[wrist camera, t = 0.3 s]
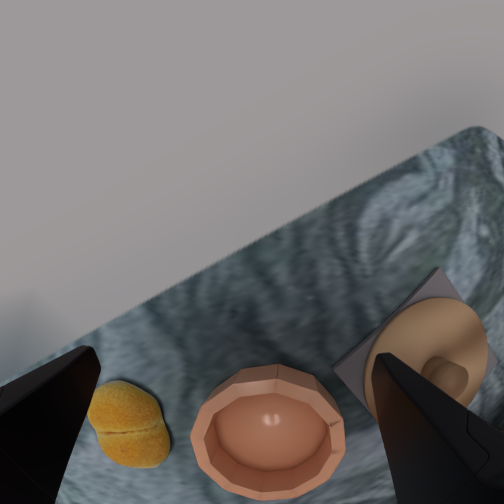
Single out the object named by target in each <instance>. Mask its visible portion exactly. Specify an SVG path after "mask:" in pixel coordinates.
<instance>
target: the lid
mask: <svg viewBox="0 0 504 504" xmlns="http://www.w3.org/2000/svg"><path fill="white" fill-rule="evenodd" d="M385 352H390V353H392V354H393V355H395V356H396V357H397V358H399V359H400V360H401V361H403V362H404V363H406V364H407V365H408V366H410V367H411V368H412V369H414V370H415V371H416V372H418V373H419V374H421V375H422V376H423V377H425V378H426V379H427V380H429V381H430V382H432V383H433V384H434V385H436V386H437V387H438V388H440V389H441V390H442V391H444V392H445V393H447V394H448V395H449V396H451V397H452V398H453V399H455V400H456V401H457V402H459V403H460V404H462V405H463V406H464V407H466V408H467V407H468V405H469V404H470V403H471V401H472V400H473V398H474V396H475V395H476V393H477V391H478V389H479V387H480V385H481V383H482V380H483V377H484V374H485V370H486V365H487V359H488V344H487V337H486V333H485V330H484V327H483V325H482V322H481V320H480V319H479V317H478V316H477V314H476V313H475V312H474V311H473V310H472V309H471V308H470V307H469V306H467V305H466V304H464V303H462V302H460V301H458V300H455V299H450V298H428V299H423V300H420V301H417V302H415V303H413V304H411V305H409V306H407V307H406V308H404V309H403V310H401V311H400V312H398V313H397V314H396V315H395V316H394V317H393V318H392V319H391V320H390V321H389V322H388V323H387V324H386V325H385V326H384V328H383V329H382V330H381V332H380V333H379V334H378V336H377V338H376V339H375V341H374V343H373V345H372V347H371V349H370V351H369V354H368V357H367V360H366V364H365V368H364V375H363V391H364V397H365V400H366V404H367V406H368V408H369V410H370V412H371V414H372V415H373V417H374V418H375V419H376V421H377V422H378V419H377V413H376V407H375V400H374V394H373V388H372V382H371V373H372V369H373V365H374V361H375V357H376V355H377V354H378V353H385Z"/></svg>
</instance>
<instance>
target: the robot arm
mask: <svg viewBox="0 0 504 504" xmlns="http://www.w3.org/2000/svg"><path fill="white" fill-rule="evenodd" d="M100 372H101V365H100V362H99V360H98V358H97V355H96V353H95V350H94V348H93V347H91V346H86V345H81V346H79V347H77V348H75V349H73V350H71V351H69V352H68V353H66V354H64V355H62V356H60V357H58V358H56V359H54V360H52V361H50V362H48V363H46V364H44V365H42V366H41V367H39V368H37V369H35V370H33V371H31V372H29V373H27V374H25V375H23V376H21V377H19V378H17V379H15V380H13V381H11V382H10V383H8V384H6V385H4V386H2V387H0V504H55V501H56V498H57V494H58V491H59V488H60V485H61V482H62V479H63V476H64V473H65V470H66V467H67V464H68V461H69V459H70V456H71V453H72V450H73V448H74V445H75V442H76V440H77V437H78V435H79V432H80V429H81V427H82V424H83V422H84V419H85V417H86V415H87V412H88V409H89V407H90V404H91V401H92V397H93V394H94V391H95V388H96V384H97V381H98V378H99V375H100ZM371 382H372V388H373V394H374V400H375V407H376V413H377V419H378V424H379V428H380V432H381V436H382V439H383V443H384V447H385V451H386V455H387V459H388V463H389V467H390V471H391V476H392V480H393V484H394V489H395V493H396V498H397V503H398V504H504V433H503V432H501V431H500V430H498V429H496V428H495V427H493V426H492V425H490V424H488V423H487V422H485V421H484V420H483V419H481V418H480V417H478V416H477V415H475V414H474V413H473V412H471V411H470V410H467V408H466V407H464V406H463V405H462V404H460V403H459V402H457V401H456V400H455V399H453V398H452V397H451V396H449V395H448V394H447V393H445V392H444V391H442V390H441V389H440V388H438V387H437V386H436V385H434V384H433V383H432V382H430V381H429V380H427V379H426V378H425V377H423V376H422V375H421V374H419V373H418V372H416V371H415V370H414V369H412V368H411V367H410V366H408V365H407V364H406V363H404V362H403V361H401V360H400V359H399V358H397V357H396V356H395V355H393V354H392V353H390V352H385V353H378V354H377V355H376V357H375V361H374V365H373V369H372V373H371Z"/></svg>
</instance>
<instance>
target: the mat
mask: <svg viewBox="0 0 504 504" xmlns="http://www.w3.org/2000/svg"><path fill="white" fill-rule="evenodd" d="M428 298H450V299H455V300H458V301H460V302H462V303H464V302H463V300H462V299H461V297H460V295H459V294H458V292H457V291H456V289H455V288H454V286H453V285H452V283H451V282H450V280H449V279H448V278H447V276H446V275H445V273H444V272H443V270H442V269H441V268H440V267H437V268H435V269H434V270H433V272H432V273H431V274H430V275H429V276H428V277H427V278H426V279H425V280H424V281H423V283H422V284H421V285H420V286H419V287H418V288H417V289H416V290H415V291H414V292H413V293H412V294H411V295H410V296H409V297H408V298H407V299H406V300H405V301H404V302H403V303H402V305H401V306H400V307H399V308H398V309H396V310H395V311H394V312H393V313H392V314H391V315H390V316H389V317H388V318H387V319H386V320H385V321H384V322H383V323H382V324H381V325H380V326H379V327H378V328H377V329H376V330H375V331H373V332H372V333H371V334H370V335H369V336H368V337H367V338H366V339H365V340H364V341H362V342H361V343H360V344H359V345H358V346H357V347H356V348H354V349H353V350H352V351H351V352H350V353H349V354H347V355H346V356H345V357H344V358H343V359H342V360H340V361H339V362H338V363H337V364H335V365H334V366H333V367H332V369H333V370H334V372H335V373H336V374H337V375H338V376H339V377H340V379H341V380H342V381H343V382H344V383H345V384H346V386H347V387H348V388H349V389H350V390H351V391H352V392H353V394H354V395H355V396H356V397H357V398H358V399H359V401H360V402H361V403H362V404H363V405H364V406H365V407H366V409H367V410H368V411H369V412H370V410H369V408H368V406H367V404H366V400H365V397H364V391H363V375H364V368H365V364H366V360H367V357H368V354H369V351H370V349H371V347H372V345H373V343H374V341H375V339H376V338H377V336H378V334H379V333H380V332H381V330H382V329H383V328H384V326H385V325H386V324H387V323H388V322H389V321H390V320H391V319H392V318H393V317H394V316H395V315H396V314H397V313H398V312H400V311H401V310H403V309H404V308H406V307H407V306H409V305H411V304H413V303H415V302H417V301H420V300H423V299H428ZM464 304H465V303H464ZM487 344H488V342H487ZM497 363H498V361H497V359H496V357H495V355H494V353H493V351H492V350H491V348H490V346H489V344H488V359H487V365H486V370H485V374H484V377H483V380H484V379H485V378H486V377H487V375H488V374H489V373H490V372H491V370H492V369H493V368H494V367H495V365H496V364H497ZM483 380H482V381H483ZM370 413H371V412H370Z"/></svg>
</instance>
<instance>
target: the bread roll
mask: <svg viewBox="0 0 504 504" xmlns="http://www.w3.org/2000/svg"><path fill="white" fill-rule="evenodd" d="M87 414H88V418H89V421H90V423H91V425H92V426H93V427H94V428H95V430H96V433H97V439H98V442H99V445H100V447H101V448H102V450H103V452H104V453H105V454H106V455H107V456H108V457H109V458H110V459H112V460H113V461H115V462H116V463H118V464H121V465H124V466H129V467H131V468H132V467H135V468H154V467H158V466H160V465H161V463H162V462H163V461H164V460H165V459H166V458H167V456H168V454H169V451H170V439H169V434H168V431H167V428H166V426H165V423H164V421H163V418H162V413H161V409H160V407H159V405H158V403H157V401H156V399H155V398H154V397H153V396H151V395H150V394H149V393H147V392H145V391H143V390H142V389H140V388H138V387H136V386H135V385H132V384H130V383H128V382H125V381H120V380H116V381H110V382H107V383H105V384H103V385H101V386H99V387H98V388H97V389H96V390H95V391H94V394H93V397H92V401H91V404H90V407H89V409H88V412H87Z"/></svg>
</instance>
